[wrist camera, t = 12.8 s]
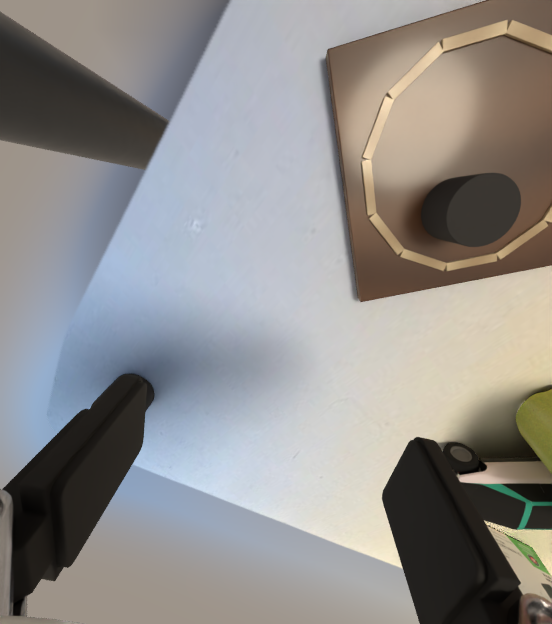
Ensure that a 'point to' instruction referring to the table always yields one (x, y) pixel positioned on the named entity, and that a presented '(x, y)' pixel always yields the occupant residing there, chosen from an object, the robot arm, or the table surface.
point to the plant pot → (537, 425)
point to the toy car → (505, 487)
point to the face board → (444, 139)
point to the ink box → (525, 565)
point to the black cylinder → (148, 396)
